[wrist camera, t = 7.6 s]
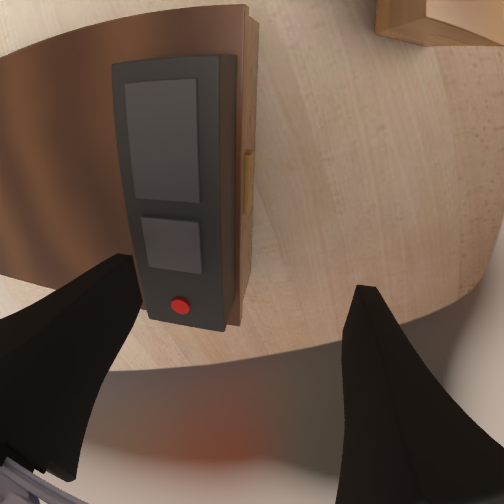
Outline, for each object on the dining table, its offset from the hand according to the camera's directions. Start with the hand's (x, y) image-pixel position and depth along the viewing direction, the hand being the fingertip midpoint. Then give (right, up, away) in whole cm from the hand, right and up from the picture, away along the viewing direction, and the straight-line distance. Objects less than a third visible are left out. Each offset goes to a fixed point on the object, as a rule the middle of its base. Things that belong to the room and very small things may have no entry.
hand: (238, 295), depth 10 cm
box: (-26, +10, +11) cm, 29 cm away
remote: (-2, +4, +4) cm, 6 cm away
